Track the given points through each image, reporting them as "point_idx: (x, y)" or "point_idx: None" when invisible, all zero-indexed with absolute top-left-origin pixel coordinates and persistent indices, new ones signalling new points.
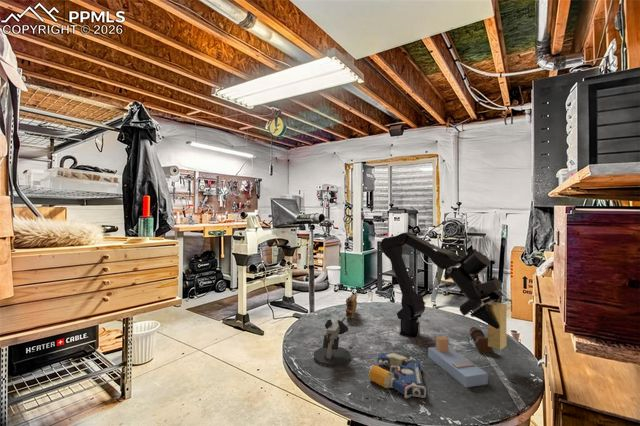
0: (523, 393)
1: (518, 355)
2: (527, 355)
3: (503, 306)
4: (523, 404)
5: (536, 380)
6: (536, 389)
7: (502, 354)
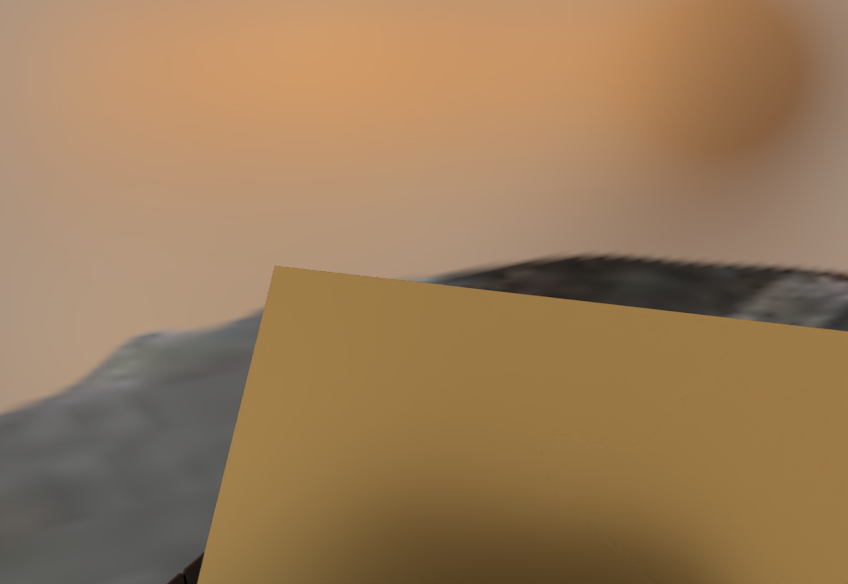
0: (680, 306)
1: (98, 462)
2: (56, 407)
3: (668, 327)
4: (797, 282)
5: (451, 283)
6: (569, 264)
7: (159, 578)
